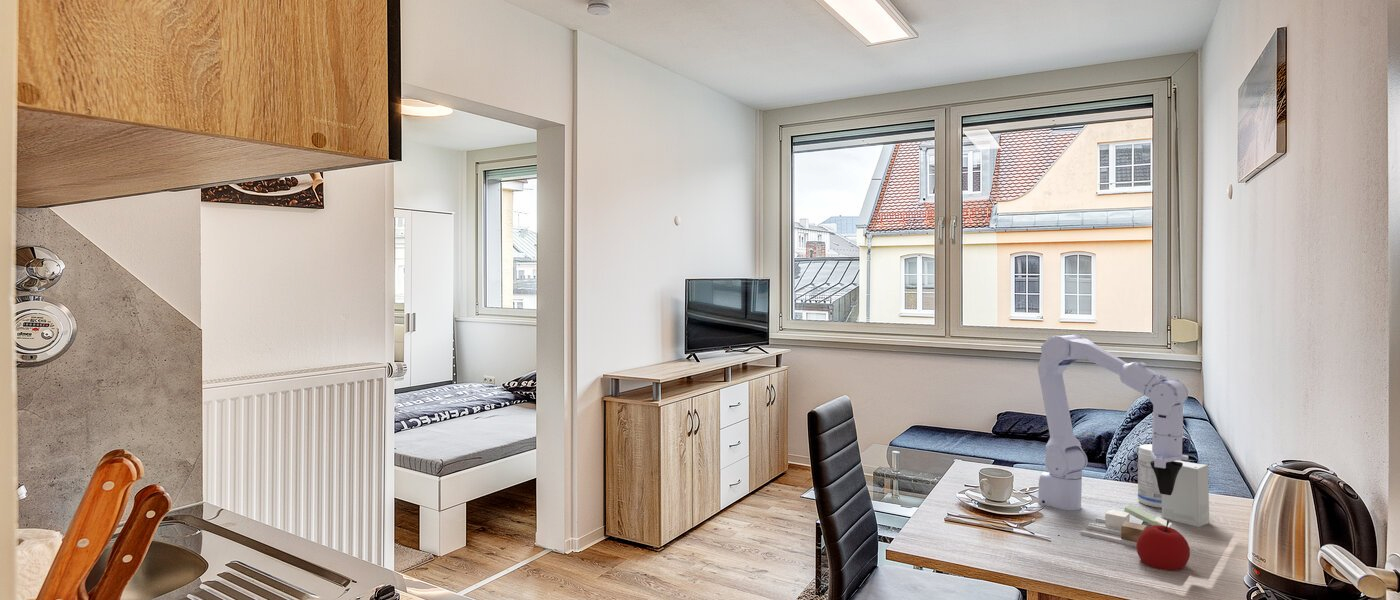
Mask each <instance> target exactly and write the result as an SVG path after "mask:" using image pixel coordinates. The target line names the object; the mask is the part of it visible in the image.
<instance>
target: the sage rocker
mask: <svg viewBox="0 0 1400 600" xmlns="http://www.w3.org/2000/svg"><path fill="white" fill-rule="evenodd" d="M1123 512H1126V513H1130V516H1132V517H1135V518H1137V519H1139V520H1141V521H1142V522H1143V521H1144V522H1146V523H1148V524H1150V525H1152V526H1153V525H1161V526H1167V519H1165V518H1162V517H1160V516H1156V515H1153V514H1152V513H1149V512H1147V511H1145V510H1143V509H1141V508H1140V507H1137V506H1135V505H1133V504H1131V503H1128V504H1127V506H1125V508H1124V509H1123ZM1172 526H1173V523H1172V522H1171V521H1169V524H1168V526H1167V527H1170V528H1172Z"/></svg>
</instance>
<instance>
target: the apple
mask: <svg viewBox="0 0 1400 600" xmlns="http://www.w3.org/2000/svg"><path fill="white" fill-rule="evenodd" d="M1166 521H1167V526H1168V524H1169V522H1170V520H1169V519H1166ZM1167 526H1161V525H1153V526H1150V527H1147V528H1146V529H1145V530H1143V532H1142V533H1141V534H1140V536H1139V538H1138V540H1137V545H1136V551H1137V556H1138V558H1139V559H1140V561H1141V562H1142V563H1143V564H1144V565H1146V566H1148V567H1151V568H1154V569H1156V570H1163V571H1167V572H1168V571H1171V572H1173V571H1181V570H1183V569H1184V568H1185V567H1186V565H1187V564H1188V562H1189V560H1190V556H1191V552H1190V551H1191V548H1190V546H1189V542H1188V541H1187V540H1186V538H1185V537H1184V535H1182V534H1181V533H1180V532H1179V531H1178V530H1176V529H1174V528H1172V527H1171V528H1170V527H1167Z"/></svg>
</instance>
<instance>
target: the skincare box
mask: <svg viewBox="0 0 1400 600" xmlns="http://www.w3.org/2000/svg"><path fill="white" fill-rule="evenodd" d="M1175 462H1181V463H1183V466H1182V467H1181V469H1180V470H1179V472H1178V475H1177V477H1176V481H1175V485H1174V489H1173V492H1172V494H1171V495H1165V494H1161V495H1162V508H1161V518H1162V519H1164V520H1168V521H1172V522H1178V523H1182V524H1185V525H1189V526H1194V527H1197V528H1199V527H1202V526H1203V527H1204V526H1205V525H1207V524H1210V500H1209V499H1210V495H1209V490H1210V489H1209V466H1208V464H1203V463H1196V462H1190V461H1184V460H1181V461H1178V460H1177V461H1175Z"/></svg>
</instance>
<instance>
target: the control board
mask: <svg viewBox="0 0 1400 600" xmlns="http://www.w3.org/2000/svg"><path fill="white" fill-rule="evenodd" d="M1095 522H1098V523H1104V524H1105V518H1102V517H1095ZM1141 524H1142V525H1147V527H1150V526H1152V525H1150V524H1148V523H1146V522H1144V521H1142V522H1141ZM1086 526H1087V527H1086V529H1088V530H1093V531H1098V532H1102V533H1106V534H1111V535H1115V536H1119V537H1121V529H1118V528H1113V527H1108V526H1105V525H1103V524H1097V523H1093V522H1089V524H1087V525H1086ZM1079 533H1080V534H1079V535H1081V536H1086V537H1091V538H1094V539H1099V540H1103V541H1108V542H1112V543H1117V544H1123V545H1127V546H1132V547H1136V545H1137V542H1133V541H1128V540H1124V539H1121V538H1119V537H1115V536H1109V535H1105V534H1101V533H1095V532H1092V531H1091V532H1090V531H1087V530H1083V529H1081V530H1080V531H1079Z"/></svg>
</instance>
